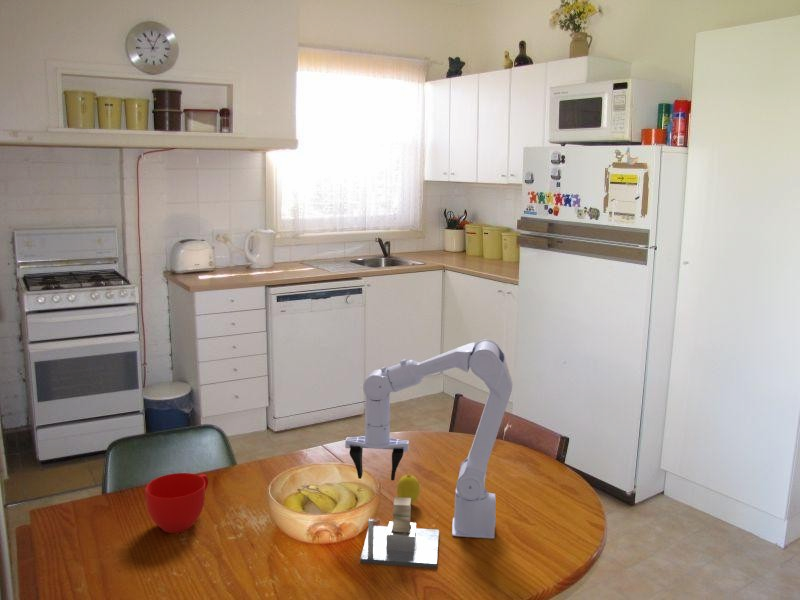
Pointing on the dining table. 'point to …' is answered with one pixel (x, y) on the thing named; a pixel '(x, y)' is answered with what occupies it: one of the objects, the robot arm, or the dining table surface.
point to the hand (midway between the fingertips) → (376, 477)
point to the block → (401, 514)
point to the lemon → (408, 487)
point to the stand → (400, 546)
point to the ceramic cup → (176, 500)
